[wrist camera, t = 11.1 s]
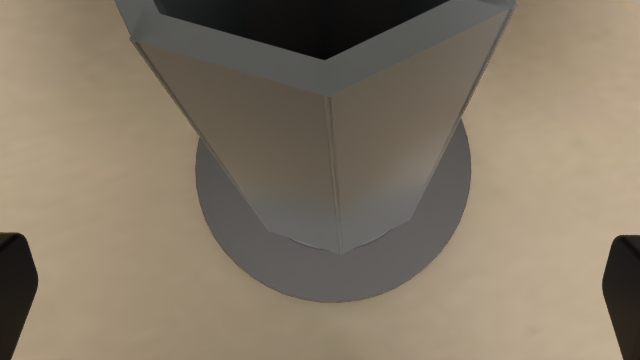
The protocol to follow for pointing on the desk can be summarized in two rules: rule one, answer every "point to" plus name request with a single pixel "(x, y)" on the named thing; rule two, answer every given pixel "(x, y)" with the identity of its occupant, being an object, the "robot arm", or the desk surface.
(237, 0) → the pen cup
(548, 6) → the desk surface
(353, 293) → the coaster
